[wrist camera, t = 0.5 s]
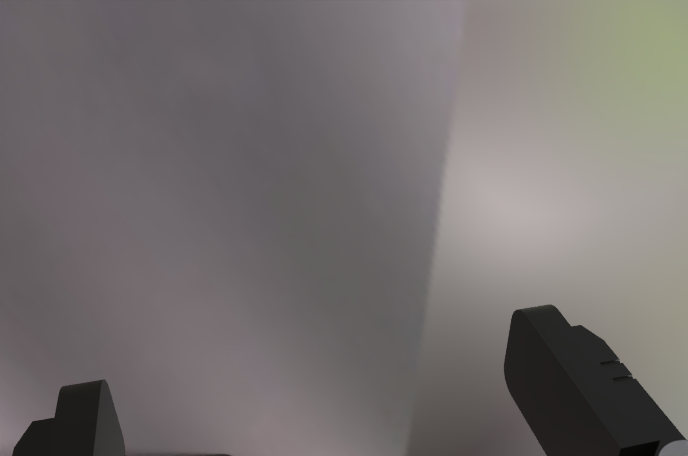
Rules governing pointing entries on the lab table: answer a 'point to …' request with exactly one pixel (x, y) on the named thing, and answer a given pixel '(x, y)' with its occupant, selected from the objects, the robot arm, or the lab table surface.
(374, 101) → the lab table surface
